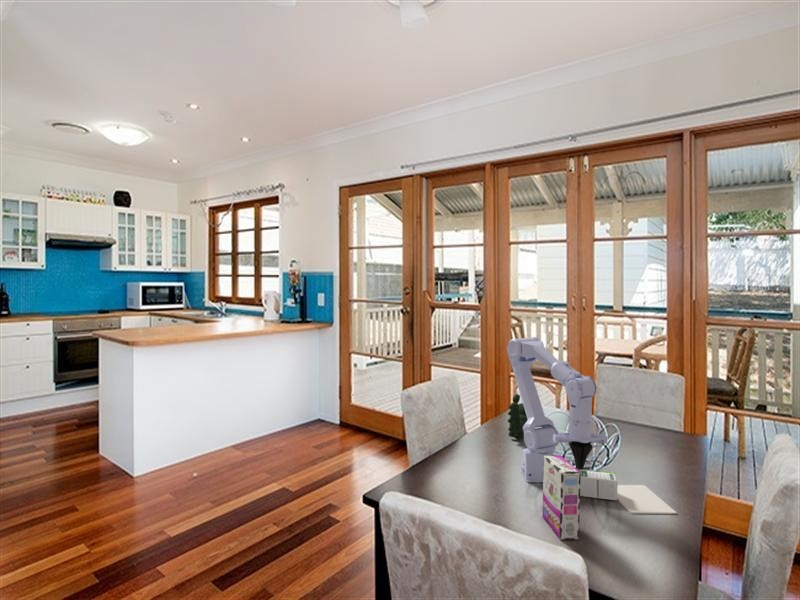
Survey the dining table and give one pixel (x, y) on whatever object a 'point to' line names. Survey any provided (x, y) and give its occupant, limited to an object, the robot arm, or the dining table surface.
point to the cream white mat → (641, 500)
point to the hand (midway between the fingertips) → (579, 467)
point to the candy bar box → (561, 497)
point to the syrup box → (598, 484)
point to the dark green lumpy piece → (517, 418)
